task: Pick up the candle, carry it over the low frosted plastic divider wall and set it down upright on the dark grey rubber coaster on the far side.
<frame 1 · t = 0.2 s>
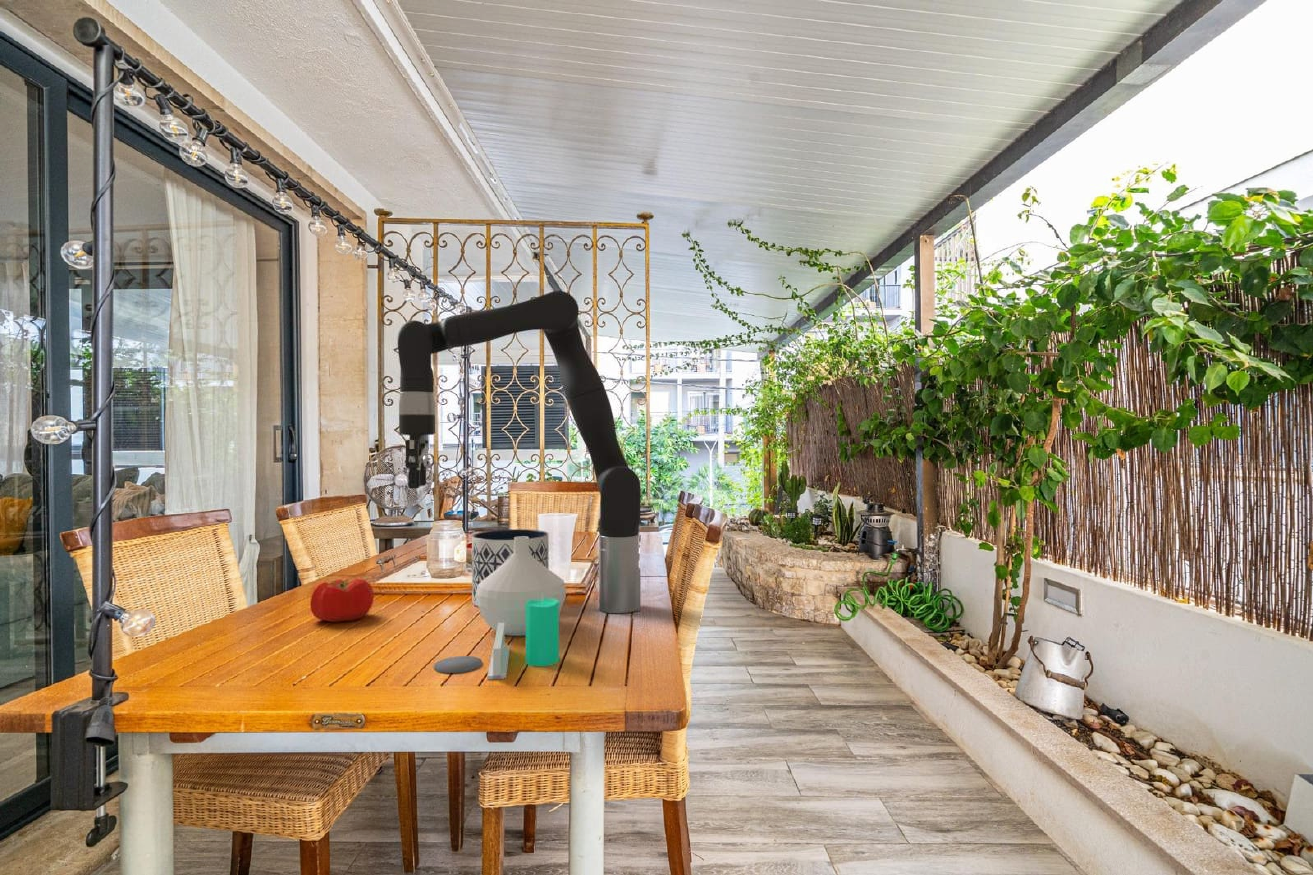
hand: (417, 487, 149), 29 cm above the table, fingers open, 8 cm apart
candle: (542, 661, 121), on the table
coaster: (458, 665, 118), on the table
vase: (521, 630, 141), on the table
divider wall: (499, 663, 120), on the table
tomato: (342, 619, 150), on the table
planter: (510, 602, 165), on the table
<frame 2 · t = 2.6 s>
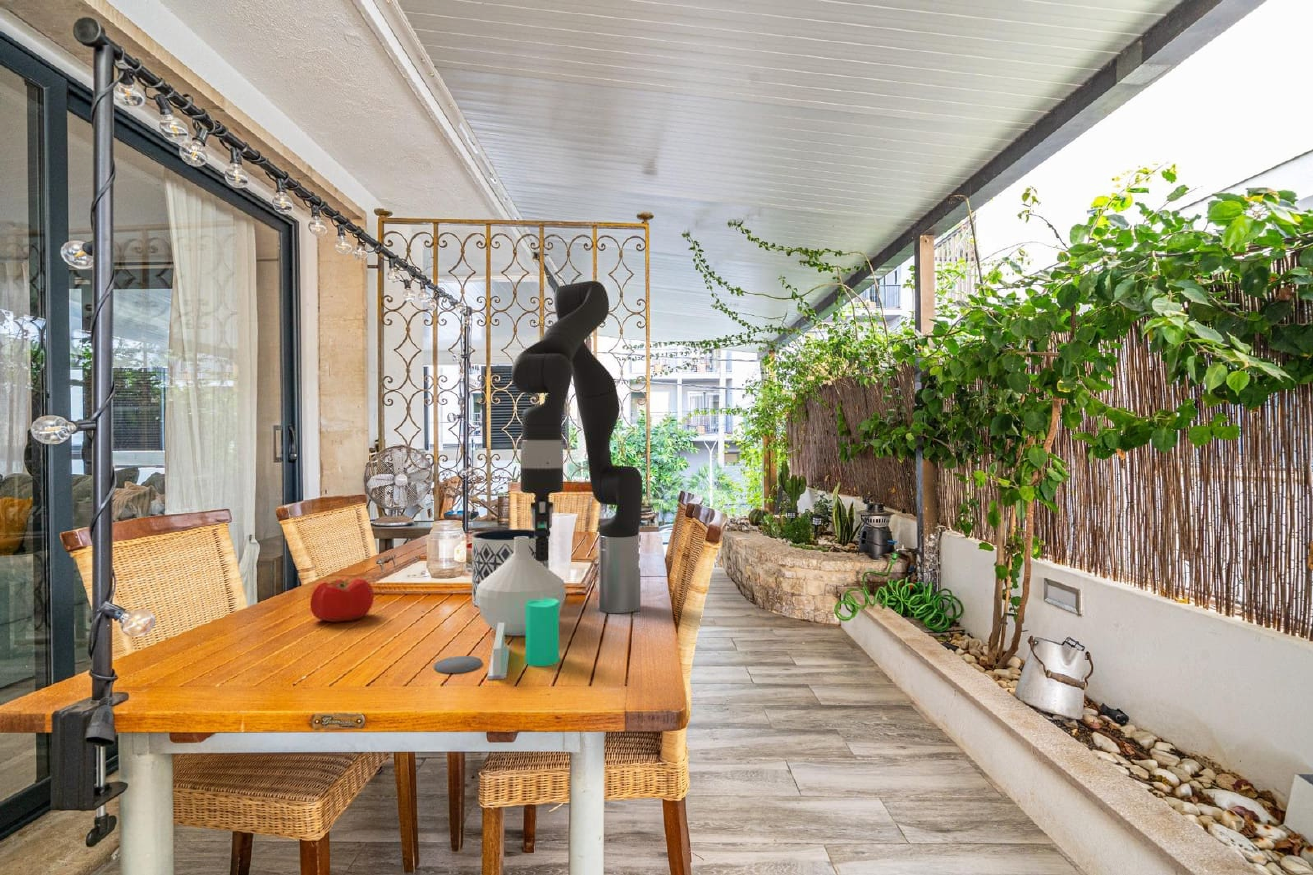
hand: (541, 556, 121), 19 cm above the table, fingers open, 8 cm apart
nothing on the table moved.
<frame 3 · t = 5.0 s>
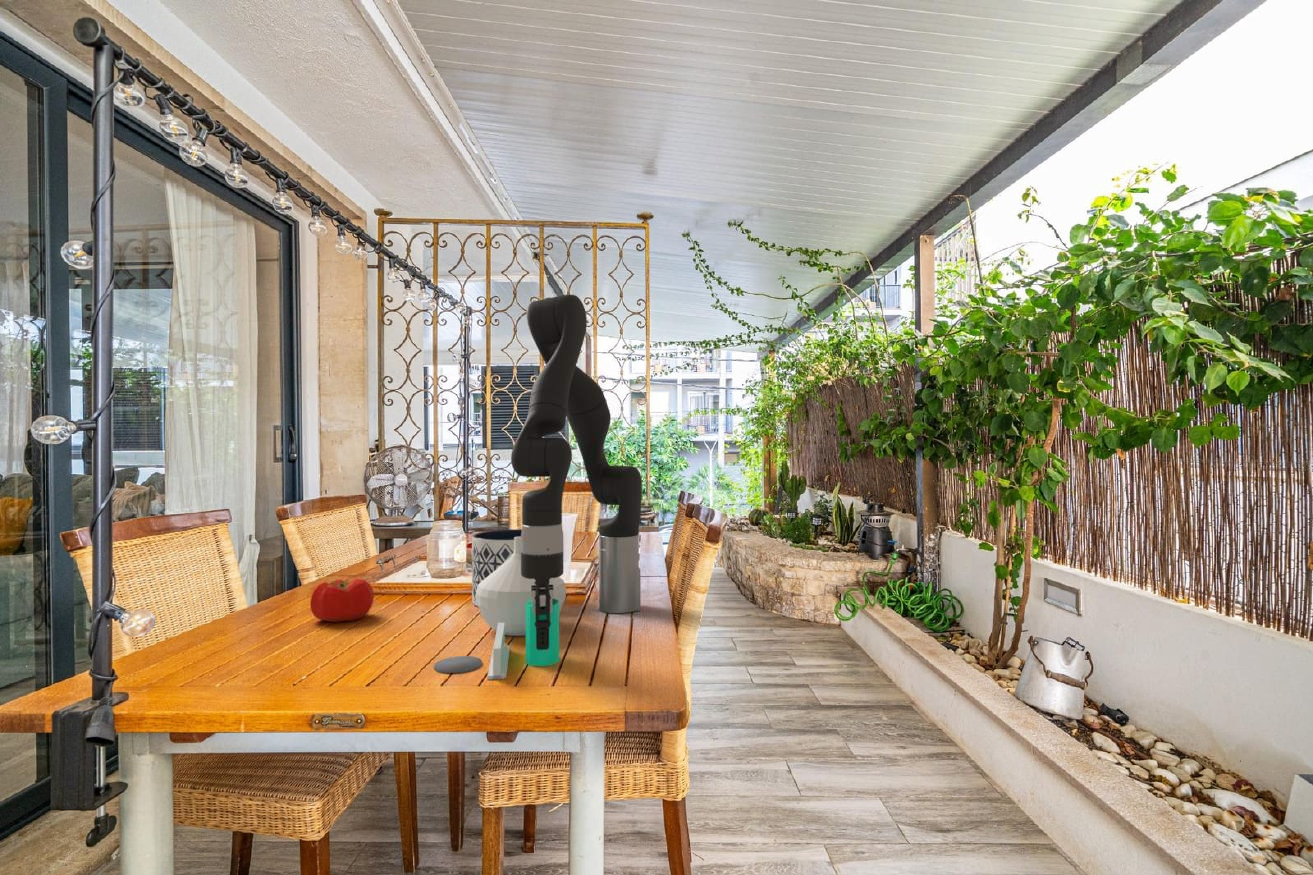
hand: (542, 643, 121), 3 cm above the table, fingers closed on candle, 5 cm apart
candle: (542, 661, 121), on the table, touching gripper
everything else where it was.
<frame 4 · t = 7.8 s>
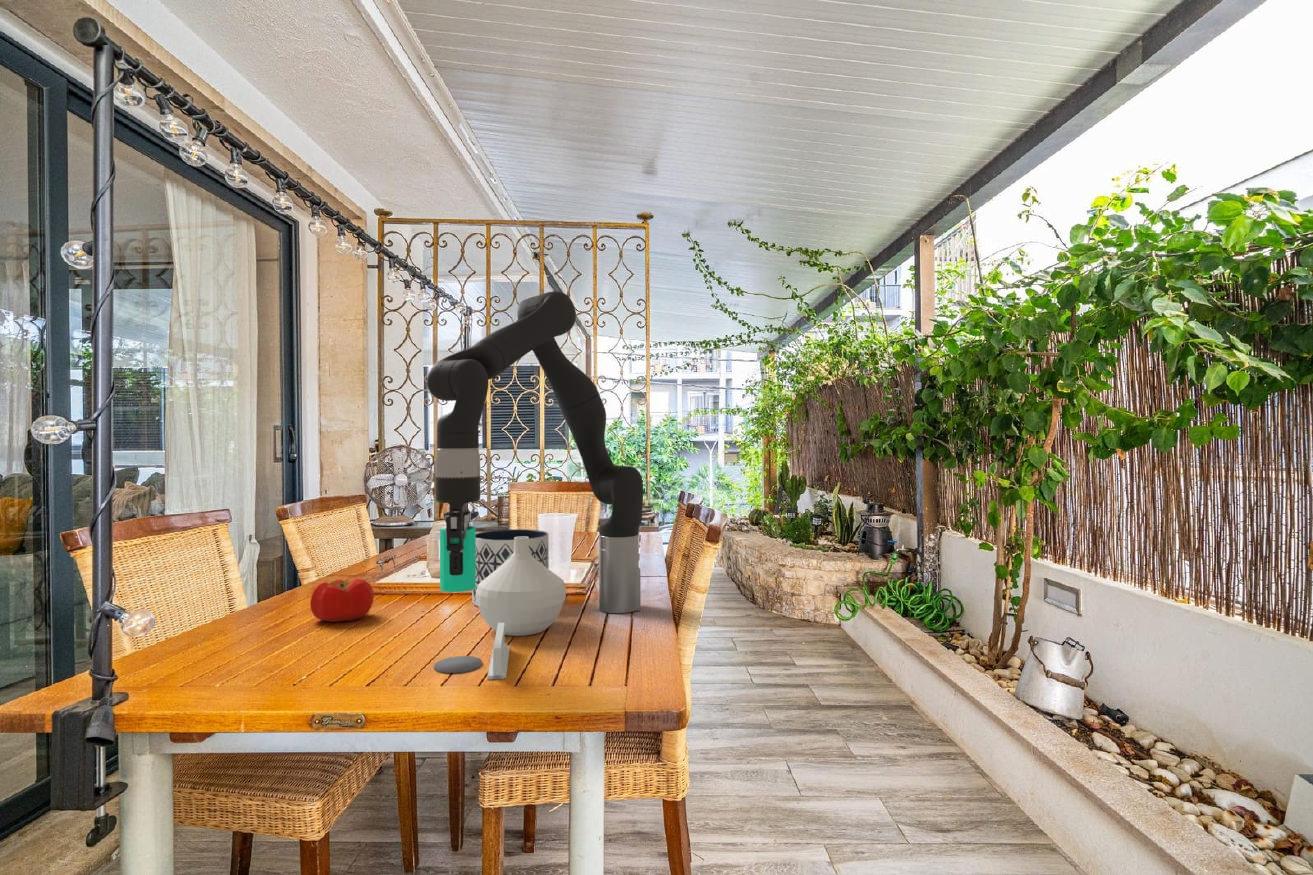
hand: (458, 571, 118), 16 cm above the table, fingers closed on candle, 5 cm apart
candle: (458, 589, 118), point 13 cm above the table, touching gripper
everything else where it was.
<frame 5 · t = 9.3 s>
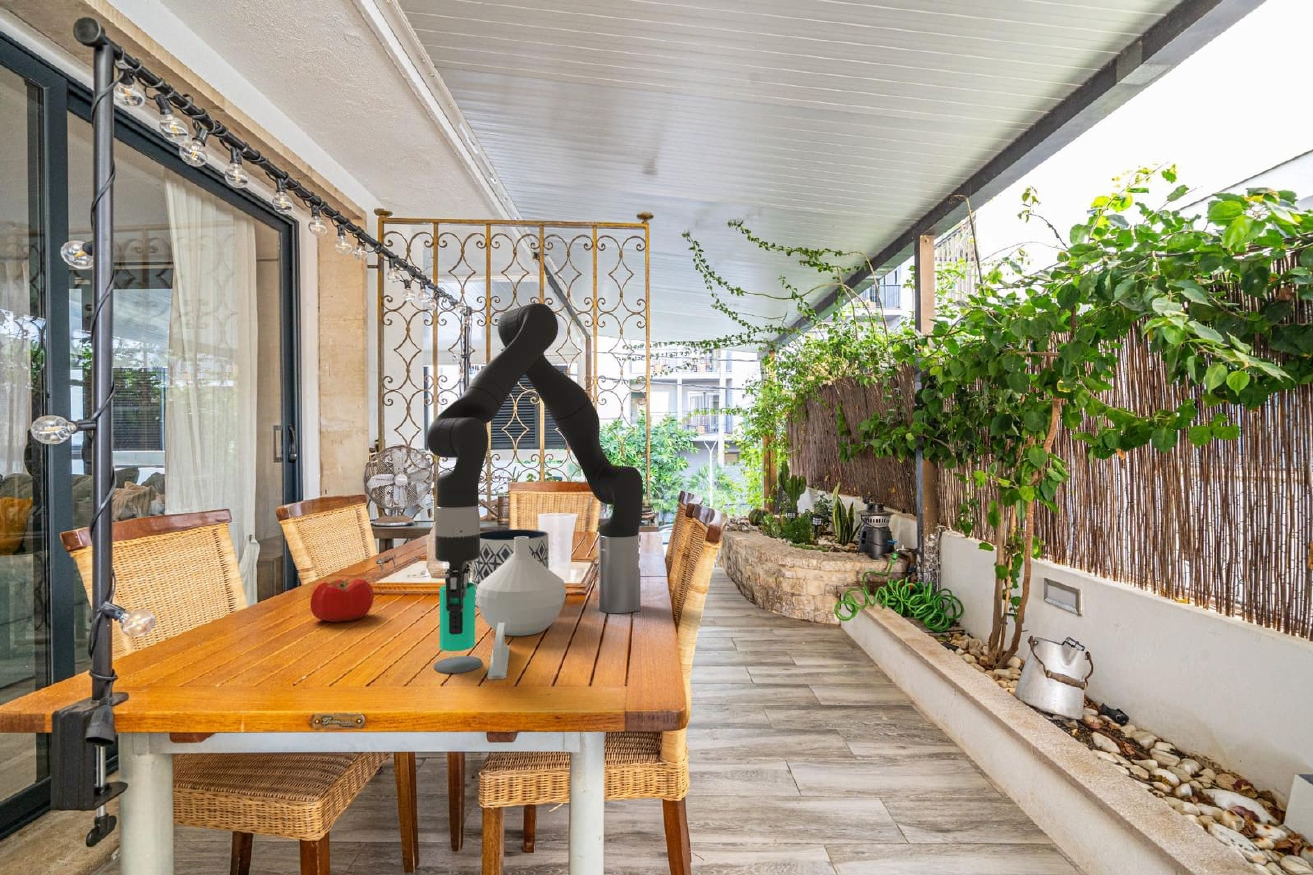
hand: (457, 628, 118), 6 cm above the table, fingers closed on candle, 5 cm apart
candle: (457, 647, 118), point 3 cm above the table, touching gripper
everything else where it was.
when the fingers open (4 cm above the table, at t = 10.7 s): candle stays where it is, resting on coaster.
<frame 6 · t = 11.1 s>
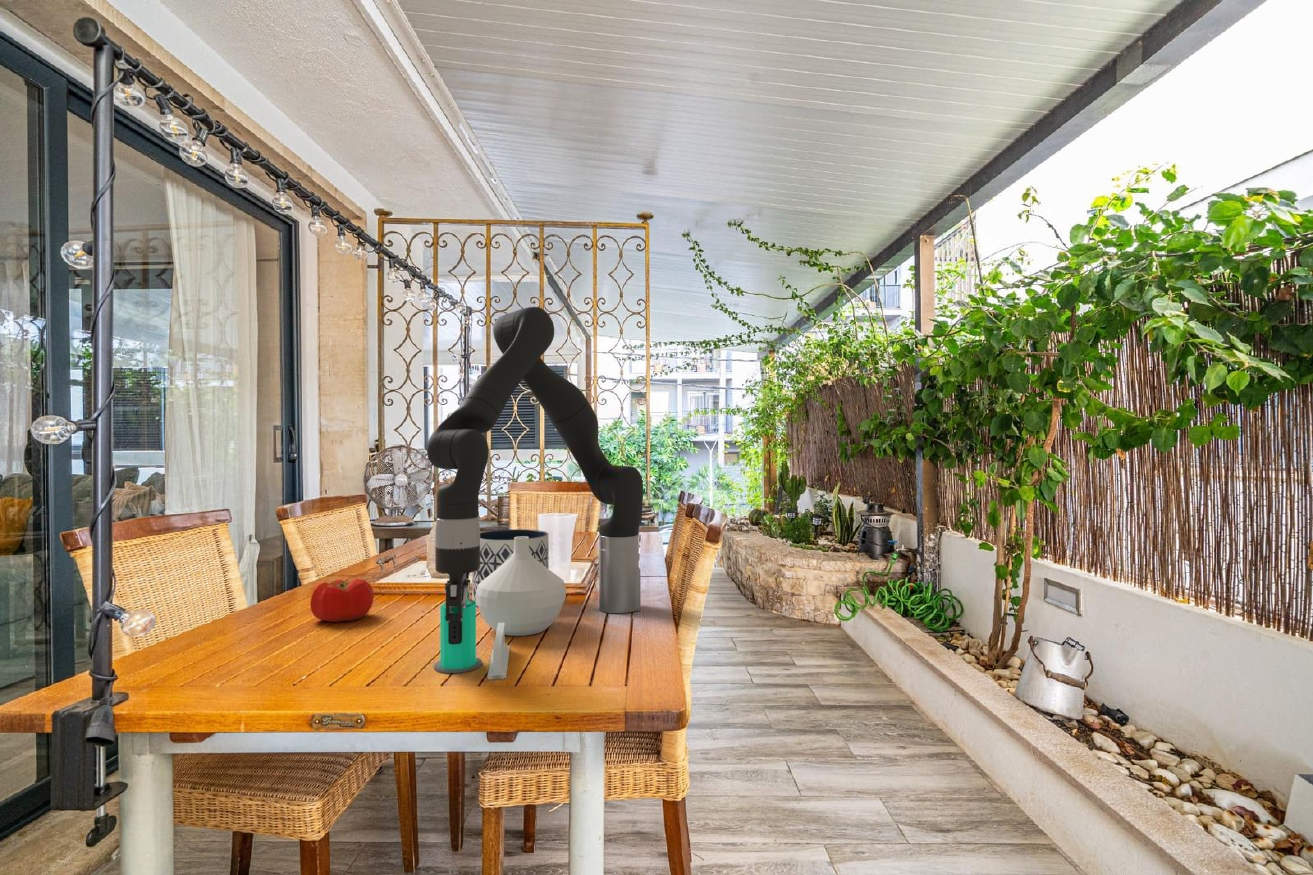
hand: (458, 636, 118), 5 cm above the table, fingers open, 8 cm apart
candle: (458, 664, 118), resting on coaster
everything else where it was.
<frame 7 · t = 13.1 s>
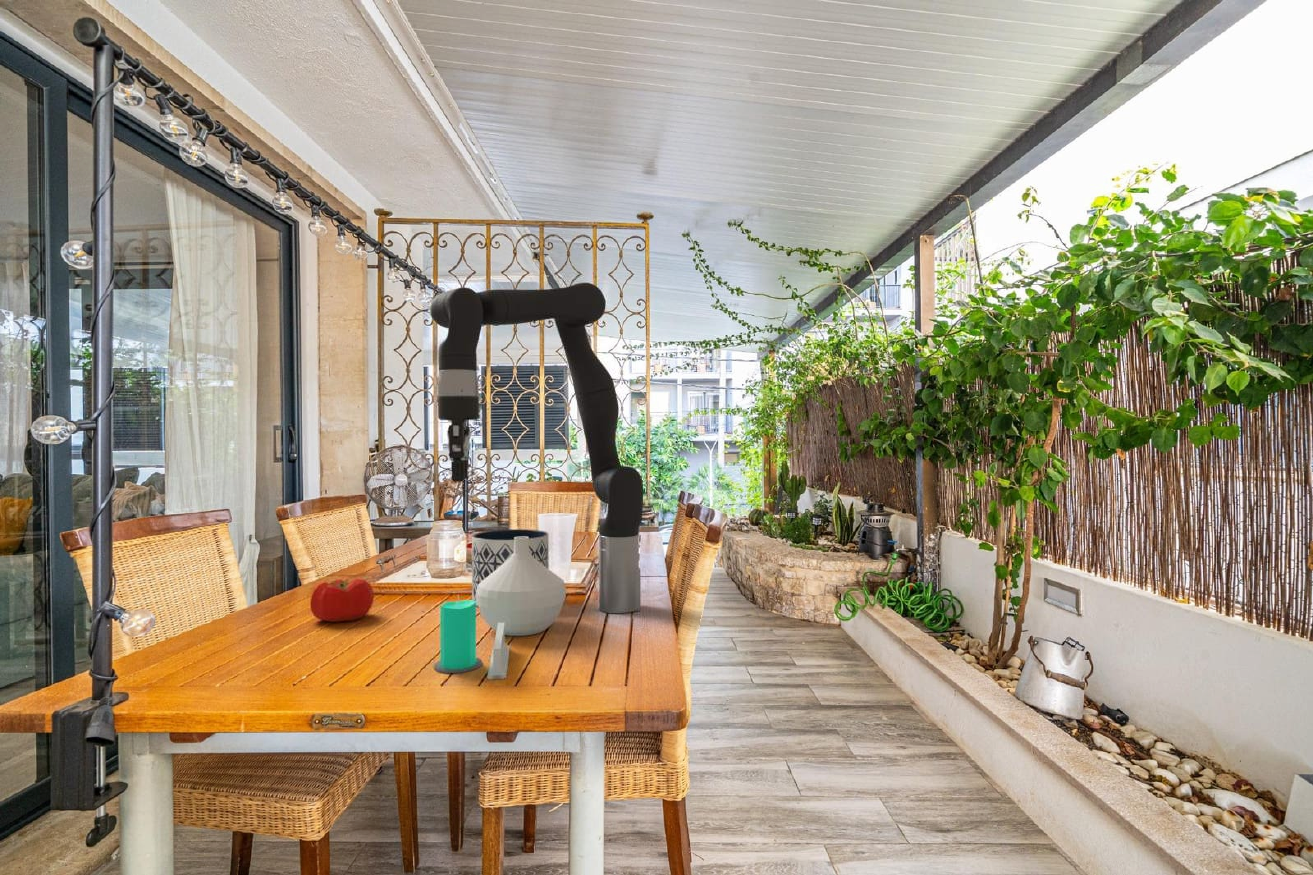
hand: (460, 480, 129), 32 cm above the table, fingers open, 8 cm apart
nothing on the table moved.
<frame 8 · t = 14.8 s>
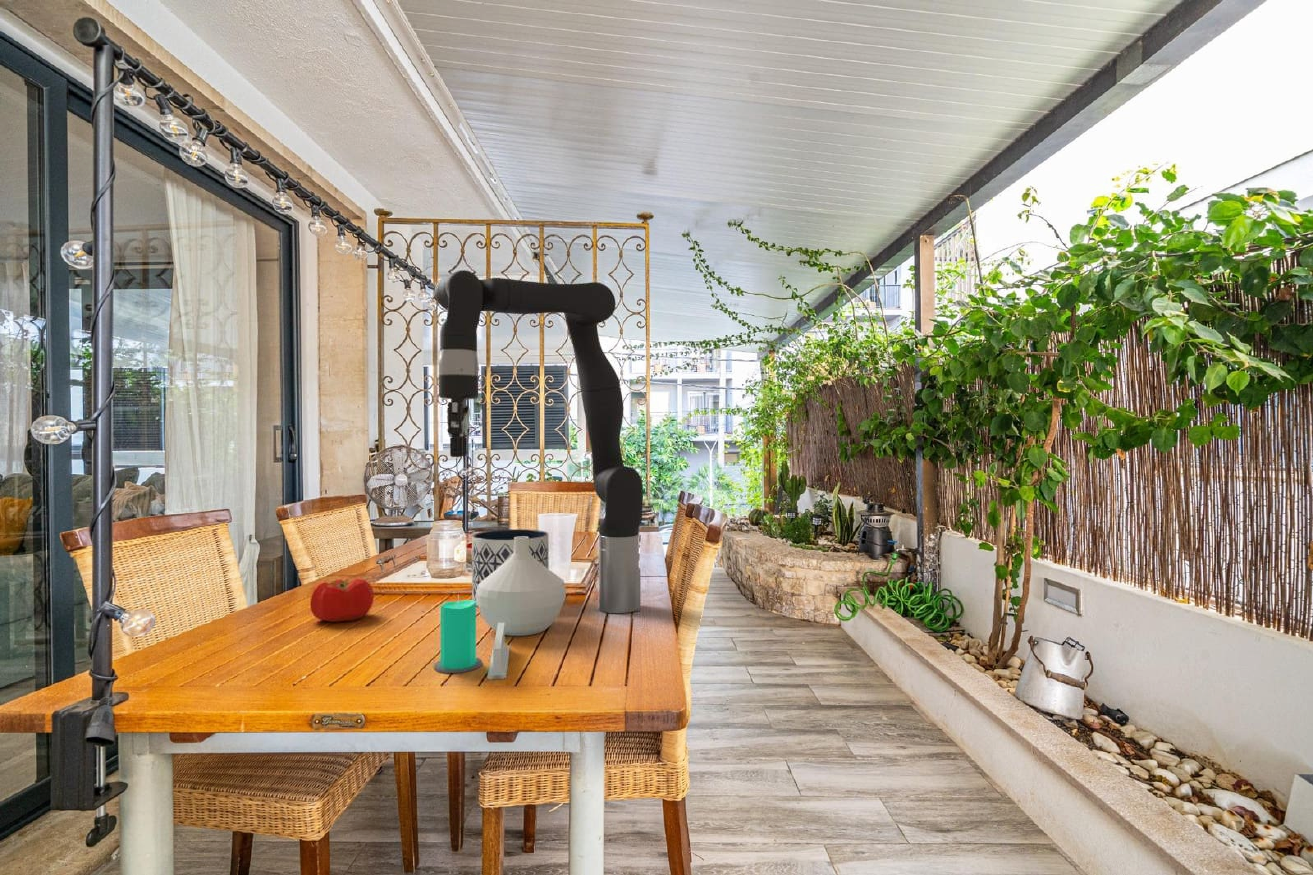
hand: (458, 456, 134), 36 cm above the table, fingers open, 8 cm apart
nothing on the table moved.
at the end: candle inside the target area on the coaster (0.2 cm from its centre), point 0.2 cm above the coaster's base; candle tilted 0°; the gripper is holding nothing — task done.
